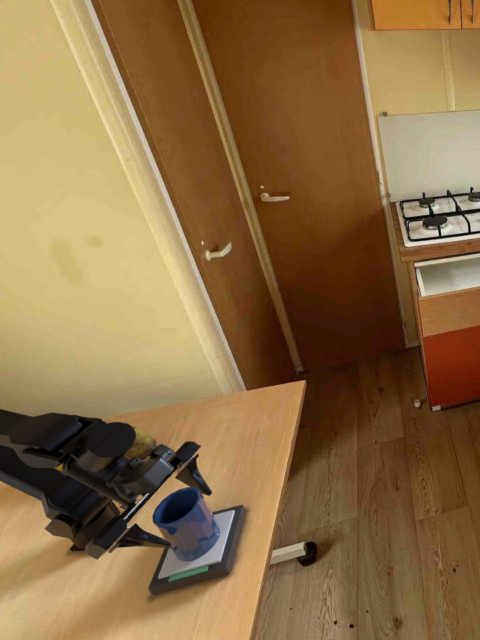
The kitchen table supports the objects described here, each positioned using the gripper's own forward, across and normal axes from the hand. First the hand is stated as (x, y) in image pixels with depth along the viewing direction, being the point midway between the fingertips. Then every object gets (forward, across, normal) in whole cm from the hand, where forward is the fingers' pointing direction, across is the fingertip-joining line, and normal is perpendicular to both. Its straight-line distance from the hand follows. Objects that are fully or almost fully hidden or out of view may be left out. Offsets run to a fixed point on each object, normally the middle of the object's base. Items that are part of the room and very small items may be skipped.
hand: (191, 518), depth 76 cm
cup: (+4, 0, +6) cm, 8 cm away
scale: (+6, 0, +8) cm, 11 cm away
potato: (-17, +16, +32) cm, 40 cm away
